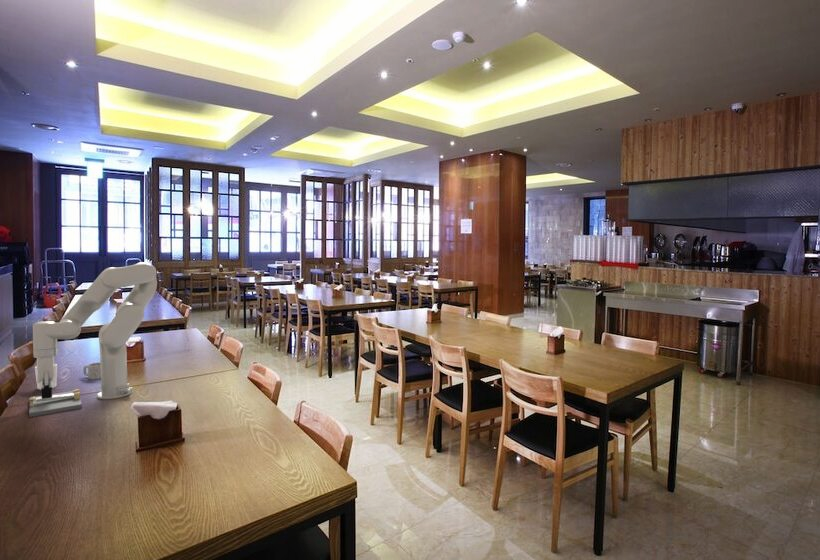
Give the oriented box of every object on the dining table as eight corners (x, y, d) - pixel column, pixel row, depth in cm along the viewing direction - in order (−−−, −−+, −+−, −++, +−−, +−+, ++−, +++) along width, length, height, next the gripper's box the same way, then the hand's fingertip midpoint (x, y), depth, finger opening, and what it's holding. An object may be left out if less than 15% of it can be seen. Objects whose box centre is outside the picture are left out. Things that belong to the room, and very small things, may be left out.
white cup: (48, 390, 199) (47, 368, 199) (31, 390, 200) (30, 368, 199) (62, 384, 207) (61, 363, 206) (45, 384, 207) (44, 363, 207)
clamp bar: (78, 395, 188) (78, 392, 188) (79, 397, 186) (79, 394, 186) (36, 400, 179) (36, 396, 179) (36, 402, 177) (36, 398, 177)
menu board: (78, 393, 196) (77, 384, 195) (81, 407, 179) (81, 397, 178) (30, 401, 186) (29, 391, 185) (29, 417, 169) (28, 406, 168)
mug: (108, 375, 222) (107, 362, 222) (97, 379, 216) (97, 366, 215) (89, 375, 223) (89, 362, 223) (78, 379, 217) (77, 365, 216)
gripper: (33, 350, 182) (34, 394, 184) (33, 357, 171) (34, 404, 172) (57, 347, 187) (58, 391, 188) (58, 354, 176) (59, 400, 177)
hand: (46, 397), depth 180 cm, fingers closed
